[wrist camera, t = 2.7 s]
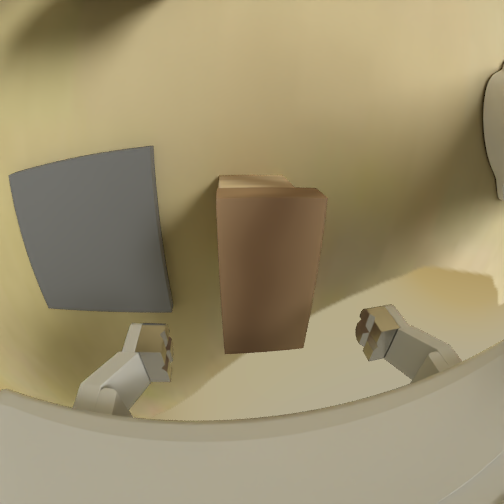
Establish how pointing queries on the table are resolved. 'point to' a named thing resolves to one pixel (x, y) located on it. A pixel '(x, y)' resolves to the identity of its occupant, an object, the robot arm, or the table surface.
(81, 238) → the mat
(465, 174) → the table surface
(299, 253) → the tall wooden block
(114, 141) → the table surface
